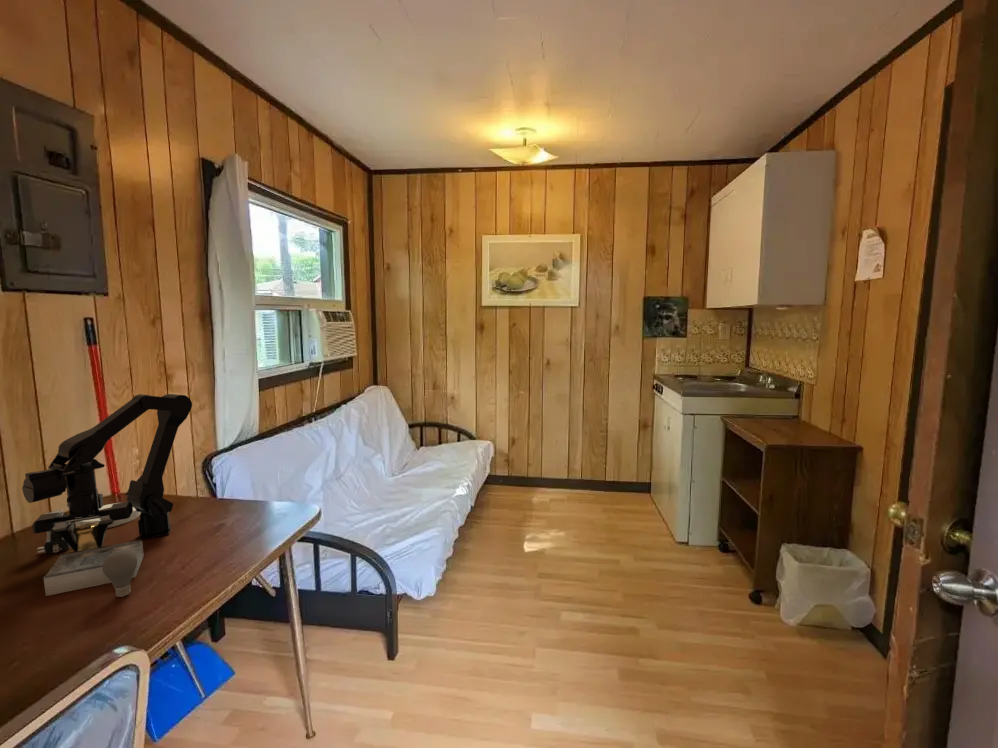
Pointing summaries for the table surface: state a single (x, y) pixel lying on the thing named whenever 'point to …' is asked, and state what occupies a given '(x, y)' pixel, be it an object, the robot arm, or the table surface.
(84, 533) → the door knob
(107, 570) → the light bulb
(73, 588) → the jig
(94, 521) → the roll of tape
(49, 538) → the push button
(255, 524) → the table surface
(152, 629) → the table surface
